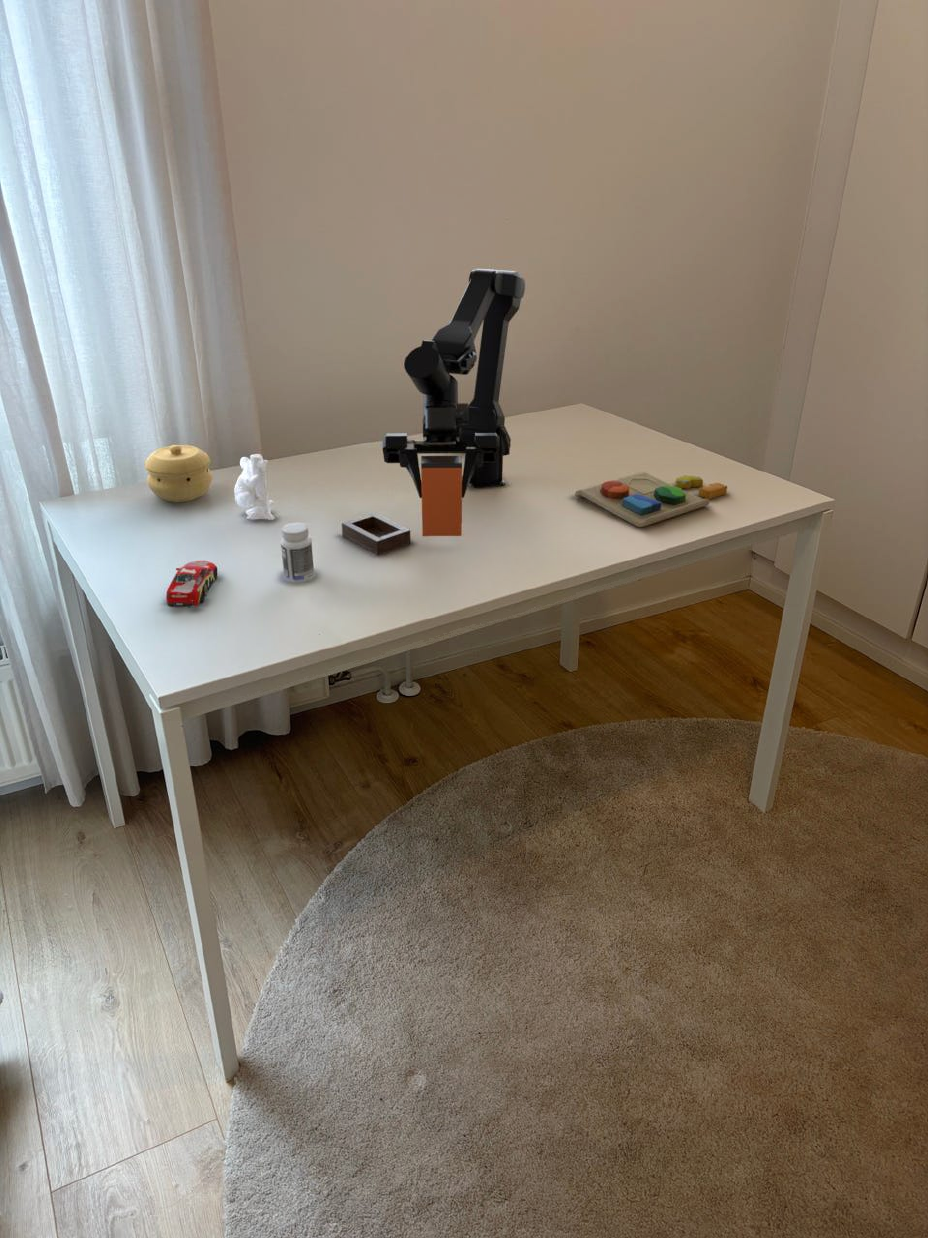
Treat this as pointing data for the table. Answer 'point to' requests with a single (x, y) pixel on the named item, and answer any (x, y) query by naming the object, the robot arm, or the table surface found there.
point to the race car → (191, 584)
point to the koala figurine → (253, 488)
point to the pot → (178, 473)
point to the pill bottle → (297, 553)
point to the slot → (376, 533)
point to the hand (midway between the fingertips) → (441, 496)
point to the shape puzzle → (650, 497)
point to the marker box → (441, 495)
